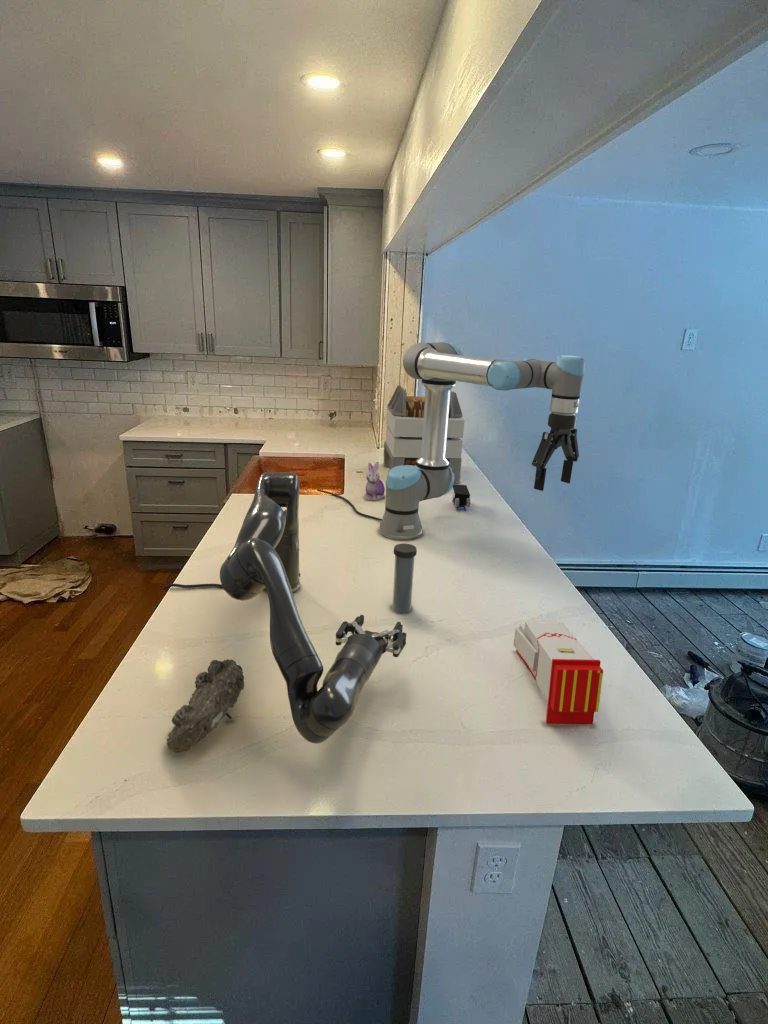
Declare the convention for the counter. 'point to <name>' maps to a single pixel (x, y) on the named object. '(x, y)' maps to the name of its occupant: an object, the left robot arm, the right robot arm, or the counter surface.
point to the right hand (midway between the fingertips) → (552, 485)
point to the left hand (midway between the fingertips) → (380, 621)
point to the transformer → (419, 431)
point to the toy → (561, 671)
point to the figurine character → (461, 496)
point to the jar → (403, 584)
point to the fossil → (206, 705)
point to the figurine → (374, 483)
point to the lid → (405, 550)
